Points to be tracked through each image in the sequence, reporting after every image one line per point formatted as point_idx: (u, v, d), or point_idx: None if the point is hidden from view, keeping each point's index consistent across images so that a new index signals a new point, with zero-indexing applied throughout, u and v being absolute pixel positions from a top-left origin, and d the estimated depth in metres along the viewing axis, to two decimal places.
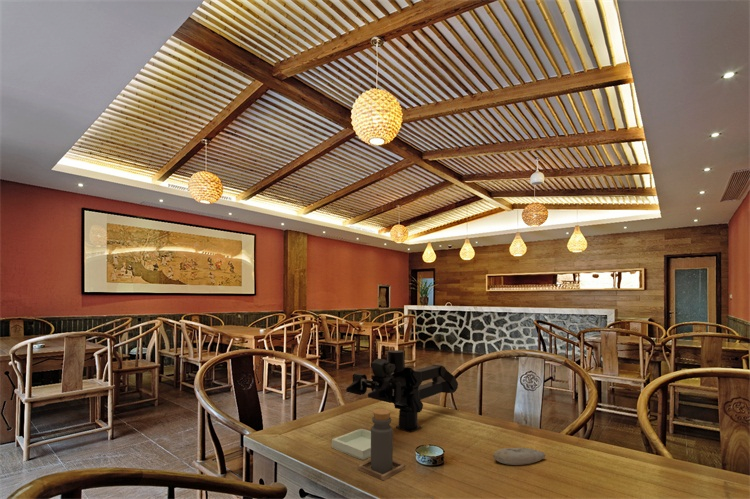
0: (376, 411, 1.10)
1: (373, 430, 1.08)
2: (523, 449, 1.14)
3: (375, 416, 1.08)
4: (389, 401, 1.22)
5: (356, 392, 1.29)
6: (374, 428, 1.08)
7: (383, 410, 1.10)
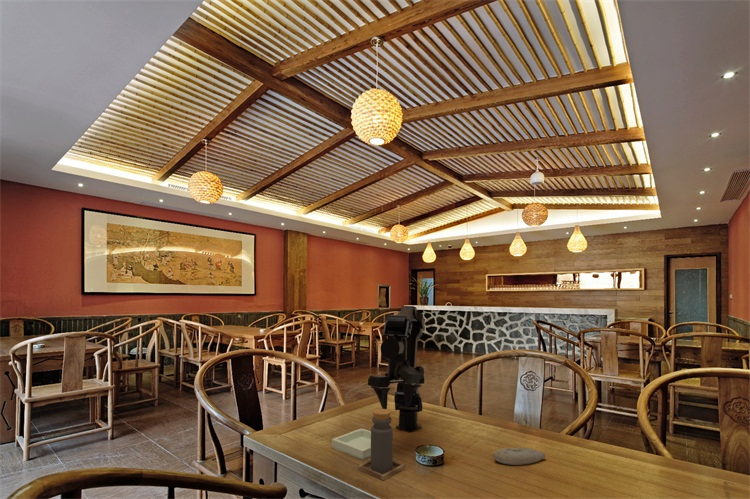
0: (376, 411, 1.10)
1: (373, 430, 1.08)
2: (523, 449, 1.14)
3: (375, 416, 1.08)
4: None
5: None
6: (374, 428, 1.08)
7: (383, 410, 1.10)
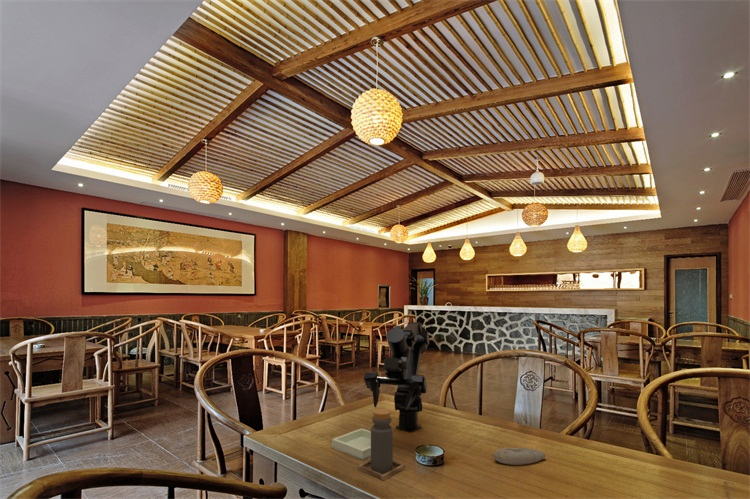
0: (376, 411, 1.10)
1: (373, 430, 1.08)
2: (523, 449, 1.14)
3: (375, 416, 1.08)
4: (419, 394, 1.22)
5: (378, 395, 1.23)
6: (374, 428, 1.08)
7: (383, 410, 1.10)
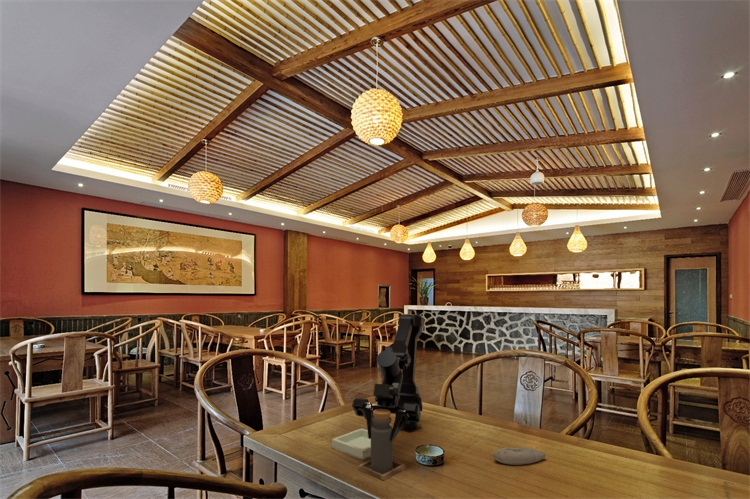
0: (376, 411, 1.10)
1: (373, 430, 1.08)
2: (523, 449, 1.14)
3: (375, 416, 1.08)
4: (406, 423, 1.12)
5: (373, 424, 1.13)
6: (374, 428, 1.08)
7: (383, 410, 1.10)
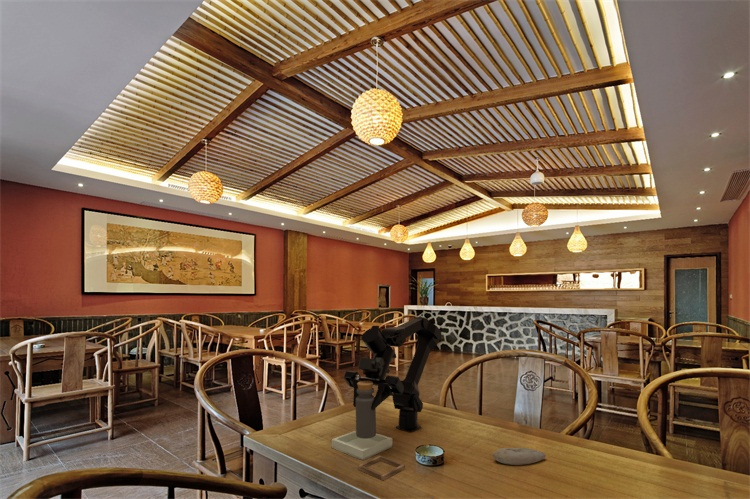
0: (360, 382, 1.20)
1: (356, 399, 1.19)
2: (523, 449, 1.14)
3: (358, 387, 1.19)
4: (390, 395, 1.21)
5: None
6: (357, 397, 1.19)
7: (367, 382, 1.21)
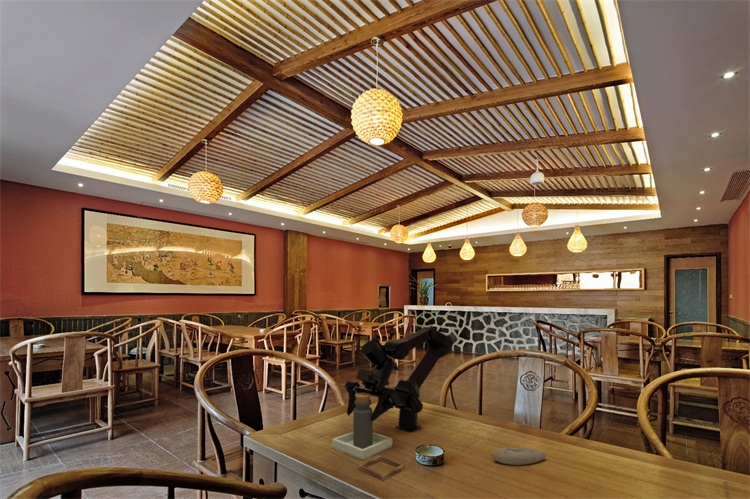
0: (358, 394, 1.25)
1: (354, 410, 1.23)
2: (523, 449, 1.14)
3: (356, 398, 1.23)
4: (391, 407, 1.23)
5: None
6: (355, 408, 1.23)
7: (365, 394, 1.25)
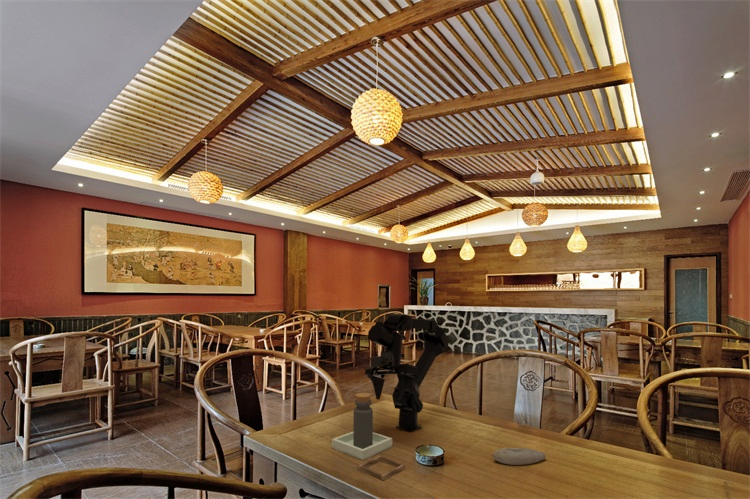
0: (358, 394, 1.25)
1: (354, 410, 1.23)
2: (523, 449, 1.14)
3: (356, 398, 1.24)
4: (413, 379, 1.28)
5: (382, 385, 1.34)
6: (355, 408, 1.23)
7: (365, 394, 1.25)
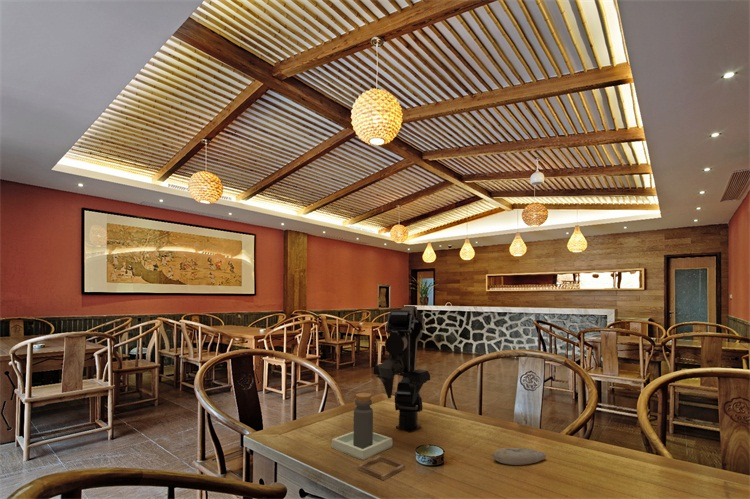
0: (358, 394, 1.25)
1: (354, 410, 1.23)
2: (523, 449, 1.14)
3: (356, 398, 1.24)
4: (424, 382, 1.24)
5: (392, 382, 1.32)
6: (355, 408, 1.23)
7: (365, 394, 1.25)
